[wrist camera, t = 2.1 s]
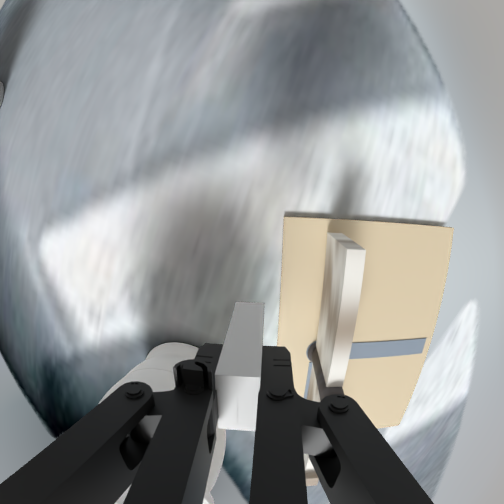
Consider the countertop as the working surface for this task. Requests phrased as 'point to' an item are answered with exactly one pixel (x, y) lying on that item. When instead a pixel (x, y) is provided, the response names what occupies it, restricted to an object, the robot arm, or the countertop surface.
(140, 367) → the jar
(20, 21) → the countertop surface
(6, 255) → the countertop surface
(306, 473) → the fence fixed
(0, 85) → the coffee cup
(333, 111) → the countertop surface
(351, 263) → the fence flap
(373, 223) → the card
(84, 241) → the countertop surface
